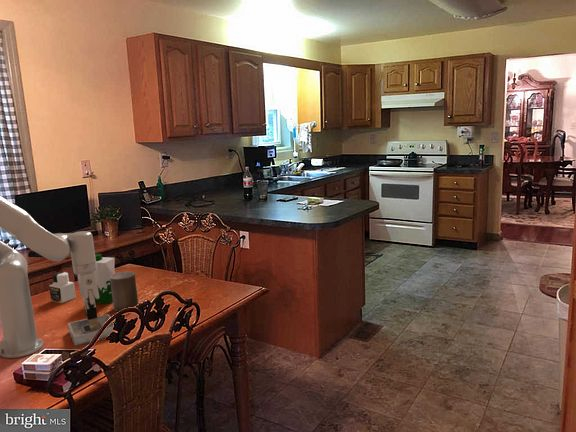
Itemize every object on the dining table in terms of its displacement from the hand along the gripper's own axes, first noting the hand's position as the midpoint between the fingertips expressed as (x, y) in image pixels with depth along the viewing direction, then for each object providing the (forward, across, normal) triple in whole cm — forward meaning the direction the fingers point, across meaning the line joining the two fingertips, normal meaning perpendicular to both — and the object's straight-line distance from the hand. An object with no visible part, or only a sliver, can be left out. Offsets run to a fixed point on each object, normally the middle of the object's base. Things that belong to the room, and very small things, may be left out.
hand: (91, 316), depth 163 cm
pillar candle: (+7, +19, -16) cm, 26 cm away
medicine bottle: (+7, +45, +4) cm, 46 cm away
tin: (+7, 0, 0) cm, 7 cm away
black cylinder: (+5, 0, -1) cm, 5 cm away
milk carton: (+7, +32, -11) cm, 34 cm away
